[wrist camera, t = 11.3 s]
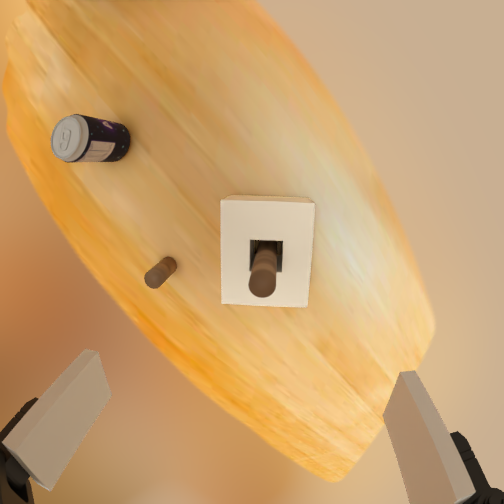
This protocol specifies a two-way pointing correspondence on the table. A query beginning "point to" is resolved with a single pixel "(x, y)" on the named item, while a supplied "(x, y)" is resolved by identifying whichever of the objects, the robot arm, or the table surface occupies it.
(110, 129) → the beverage can
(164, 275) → the short pin
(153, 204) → the table surface
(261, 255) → the long pin
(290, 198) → the hole block
